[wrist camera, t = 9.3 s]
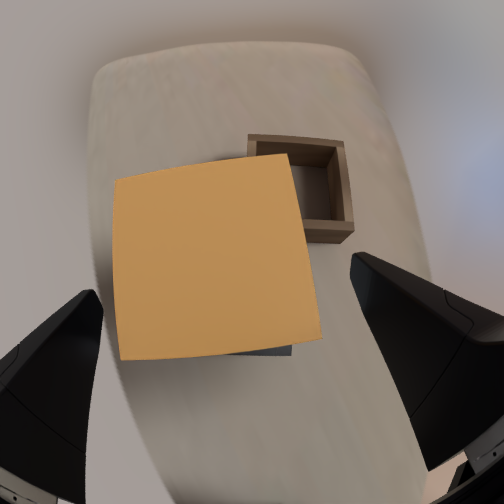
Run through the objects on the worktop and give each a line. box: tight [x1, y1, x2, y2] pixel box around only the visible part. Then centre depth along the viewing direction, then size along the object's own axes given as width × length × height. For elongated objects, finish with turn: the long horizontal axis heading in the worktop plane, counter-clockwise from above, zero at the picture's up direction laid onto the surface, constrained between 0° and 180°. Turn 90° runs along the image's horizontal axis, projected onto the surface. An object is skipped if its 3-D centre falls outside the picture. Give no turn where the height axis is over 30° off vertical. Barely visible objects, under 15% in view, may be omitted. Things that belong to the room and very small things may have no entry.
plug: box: [113, 153, 322, 360], centre depth 12 cm, size 4×4×13 cm
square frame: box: [247, 134, 355, 244], centre depth 19 cm, size 7×7×3 cm
